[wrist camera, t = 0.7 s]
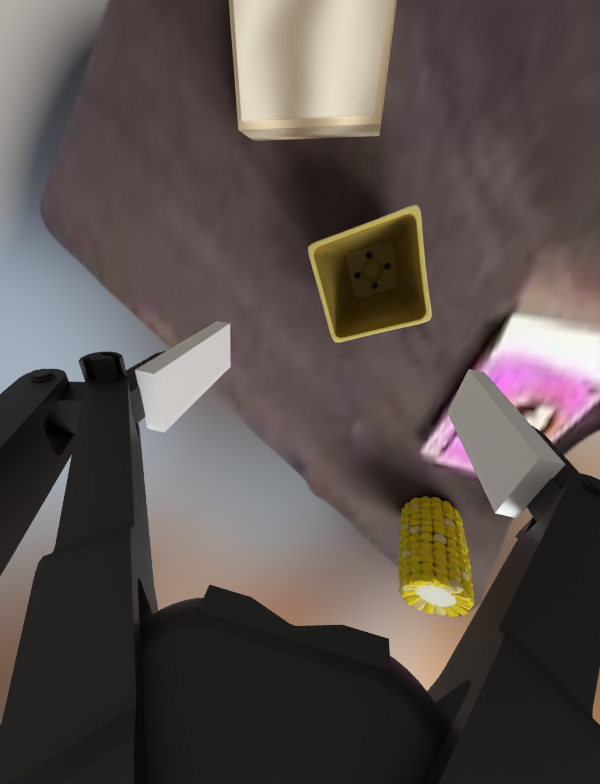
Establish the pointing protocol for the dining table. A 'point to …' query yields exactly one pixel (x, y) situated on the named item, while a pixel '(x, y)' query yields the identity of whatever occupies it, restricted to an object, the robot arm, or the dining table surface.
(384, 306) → the flower pot
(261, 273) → the dining table surface
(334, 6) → the cream square block
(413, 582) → the food
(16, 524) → the robot arm
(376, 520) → the dining table surface
